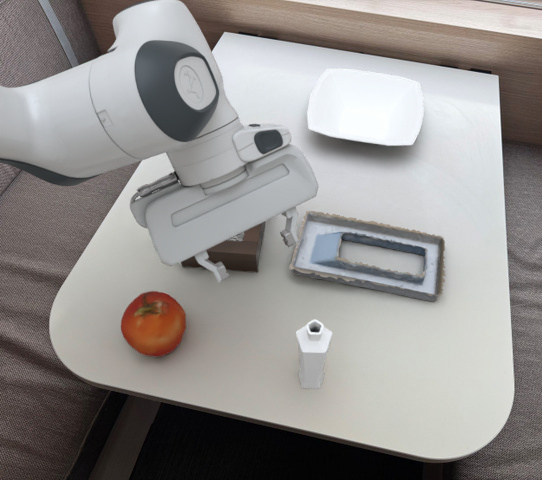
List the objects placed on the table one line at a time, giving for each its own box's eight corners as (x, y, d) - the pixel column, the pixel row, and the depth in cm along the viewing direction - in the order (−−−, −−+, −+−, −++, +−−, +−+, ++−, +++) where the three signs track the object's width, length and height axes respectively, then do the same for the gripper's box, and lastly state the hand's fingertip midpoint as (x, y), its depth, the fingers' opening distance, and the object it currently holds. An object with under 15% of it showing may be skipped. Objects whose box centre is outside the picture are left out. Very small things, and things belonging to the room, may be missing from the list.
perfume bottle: (300, 357, 76) (302, 306, 65) (329, 366, 76) (336, 316, 64) (290, 386, 74) (289, 337, 62) (319, 396, 73) (325, 348, 61)
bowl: (415, 171, 101) (420, 150, 97) (298, 153, 103) (298, 131, 99) (421, 101, 115) (427, 79, 110) (318, 86, 117) (319, 63, 112)
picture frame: (304, 219, 93) (305, 208, 91) (444, 242, 91) (448, 232, 89) (288, 280, 85) (288, 270, 82) (441, 307, 83) (445, 297, 80)
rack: (257, 272, 85) (256, 254, 81) (181, 266, 85) (176, 248, 81) (273, 175, 99) (272, 155, 95) (208, 170, 99) (204, 150, 95)
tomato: (175, 371, 74) (164, 346, 68) (116, 354, 76) (100, 328, 69) (201, 317, 80) (193, 289, 74) (146, 301, 81) (134, 273, 75)
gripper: (123, 200, 52) (182, 311, 58) (300, 122, 58) (339, 230, 63) (120, 189, 58) (175, 291, 63) (282, 119, 63) (319, 219, 68)
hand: (258, 260), depth 63 cm, fingers open, 8 cm apart
